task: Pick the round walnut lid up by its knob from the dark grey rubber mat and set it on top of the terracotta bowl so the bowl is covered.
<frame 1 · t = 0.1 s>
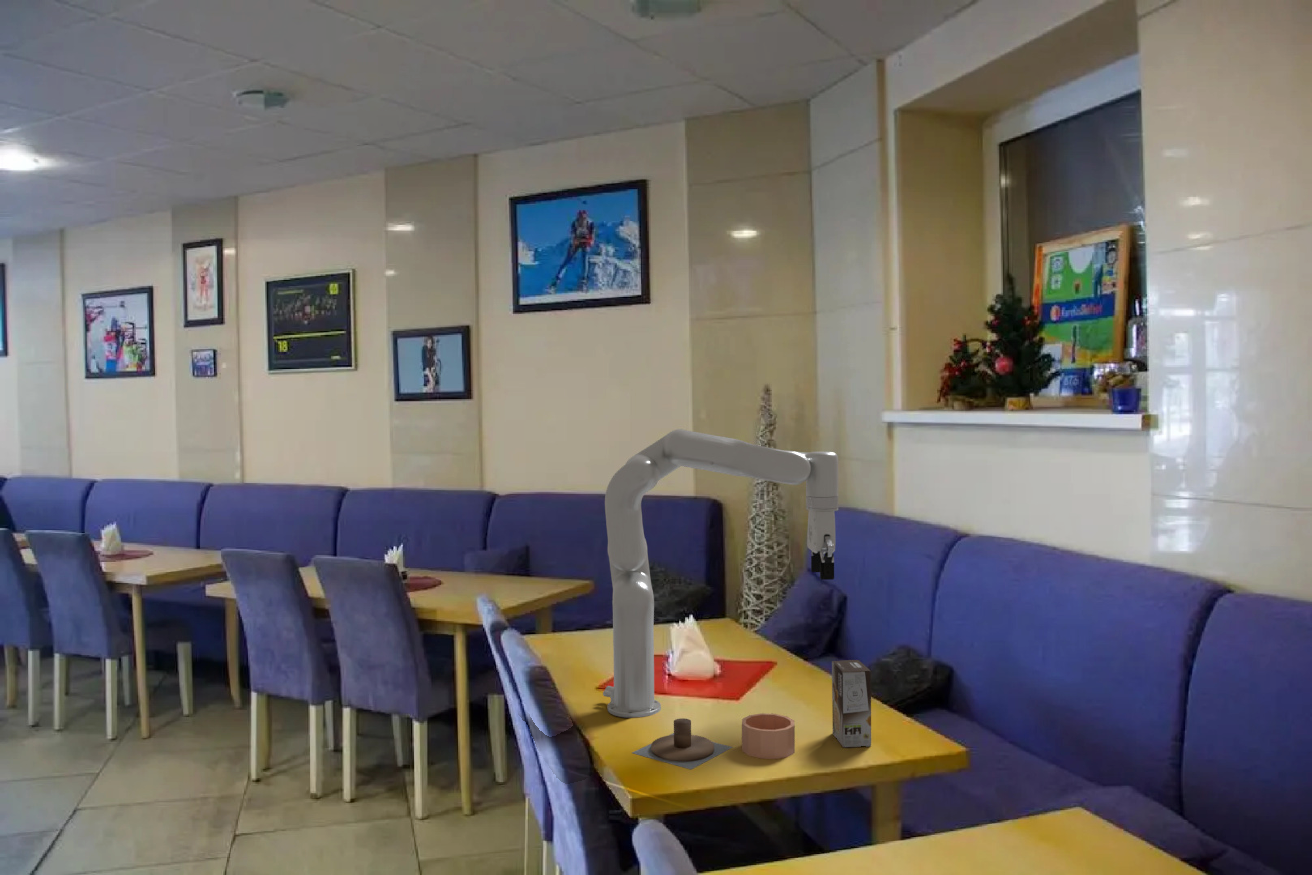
hand: (822, 575, 223), 31 cm above the table, tool pointing down, fingers open, 9 cm apart
mat: (682, 751, 195), on the table
lid: (682, 749, 195), resting on mat
bowl: (768, 750, 196), on the table
coffee box: (851, 740, 202), on the table
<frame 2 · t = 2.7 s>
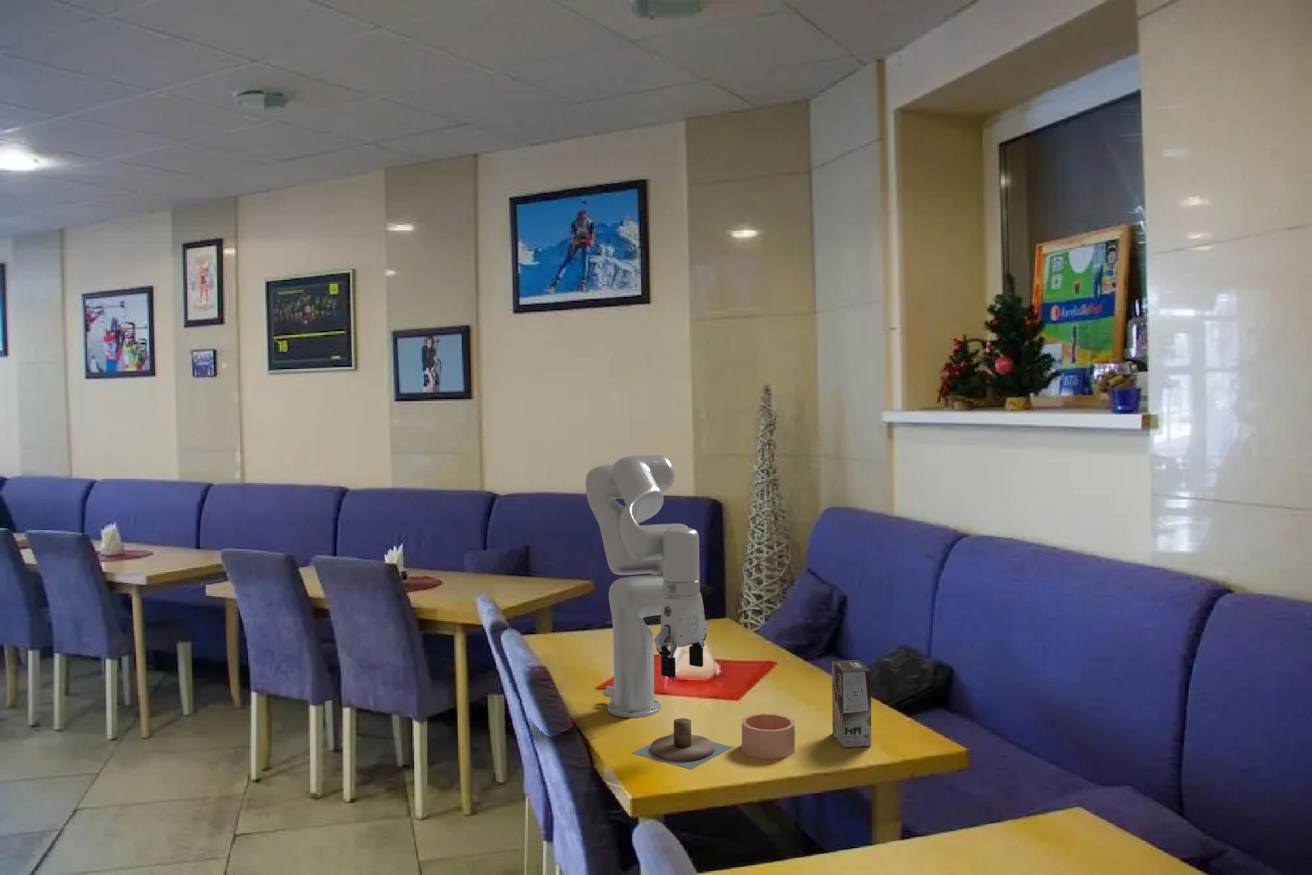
hand: (682, 670, 195), 17 cm above the table, tool pointing down, fingers open, 9 cm apart
nothing on the table moved.
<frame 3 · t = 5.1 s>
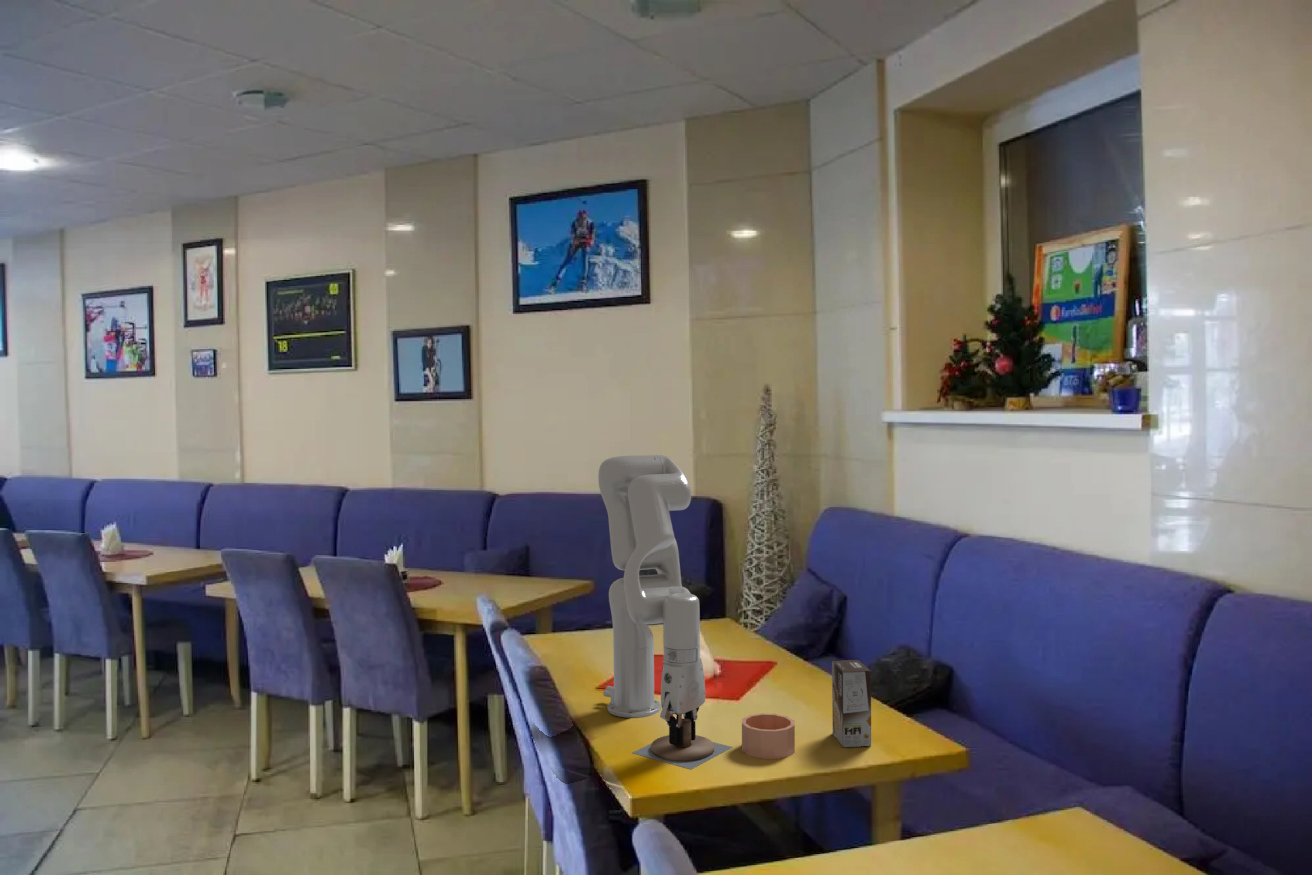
hand: (682, 740, 195), 2 cm above the table, tool pointing down, fingers closed on lid, 3 cm apart
lid: (682, 749, 195), resting on mat, touching gripper
everything else where it was.
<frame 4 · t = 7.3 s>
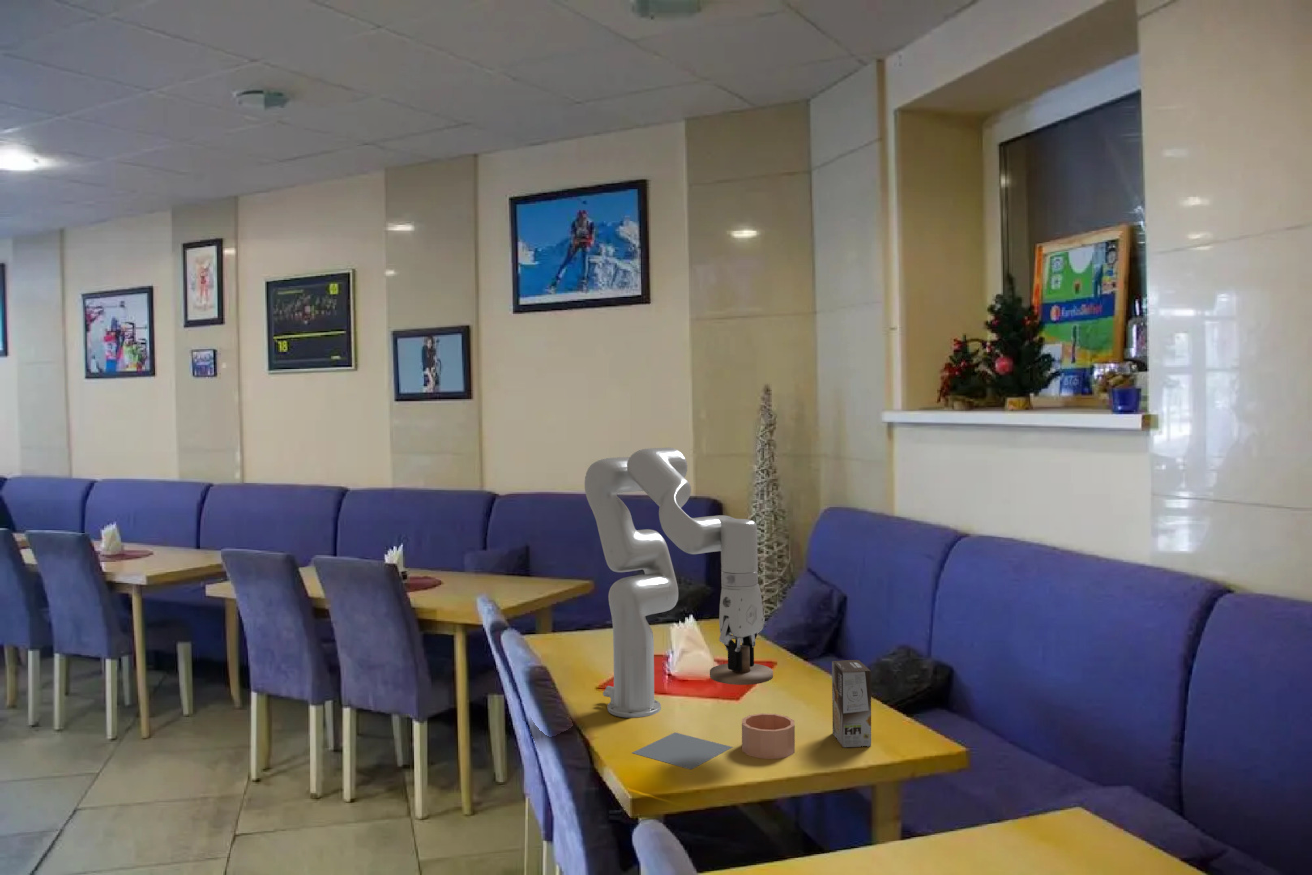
hand: (741, 666, 195), 18 cm above the table, tool pointing down, fingers closed on lid, 3 cm apart
lid: (741, 675, 195), point 16 cm above the table, touching gripper
everything else where it was.
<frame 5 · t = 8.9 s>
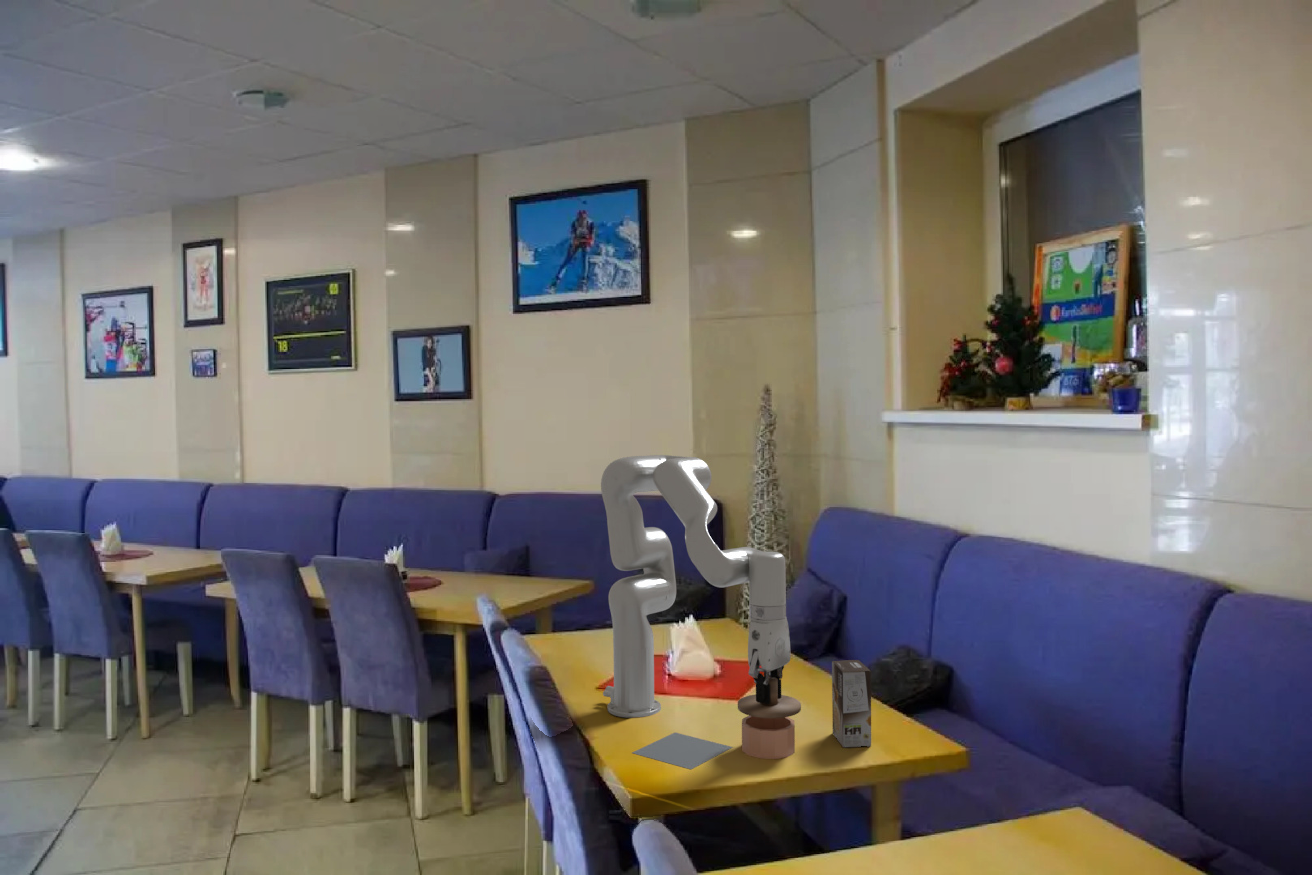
hand: (768, 699, 195), 11 cm above the table, tool pointing down, fingers closed on lid, 3 cm apart
lid: (769, 707, 195), point 9 cm above the table, touching gripper
everything else where it was.
when the fingers open (9 cm above the table, at t = 9.9 s): lid drops 1 cm, resting on bowl.
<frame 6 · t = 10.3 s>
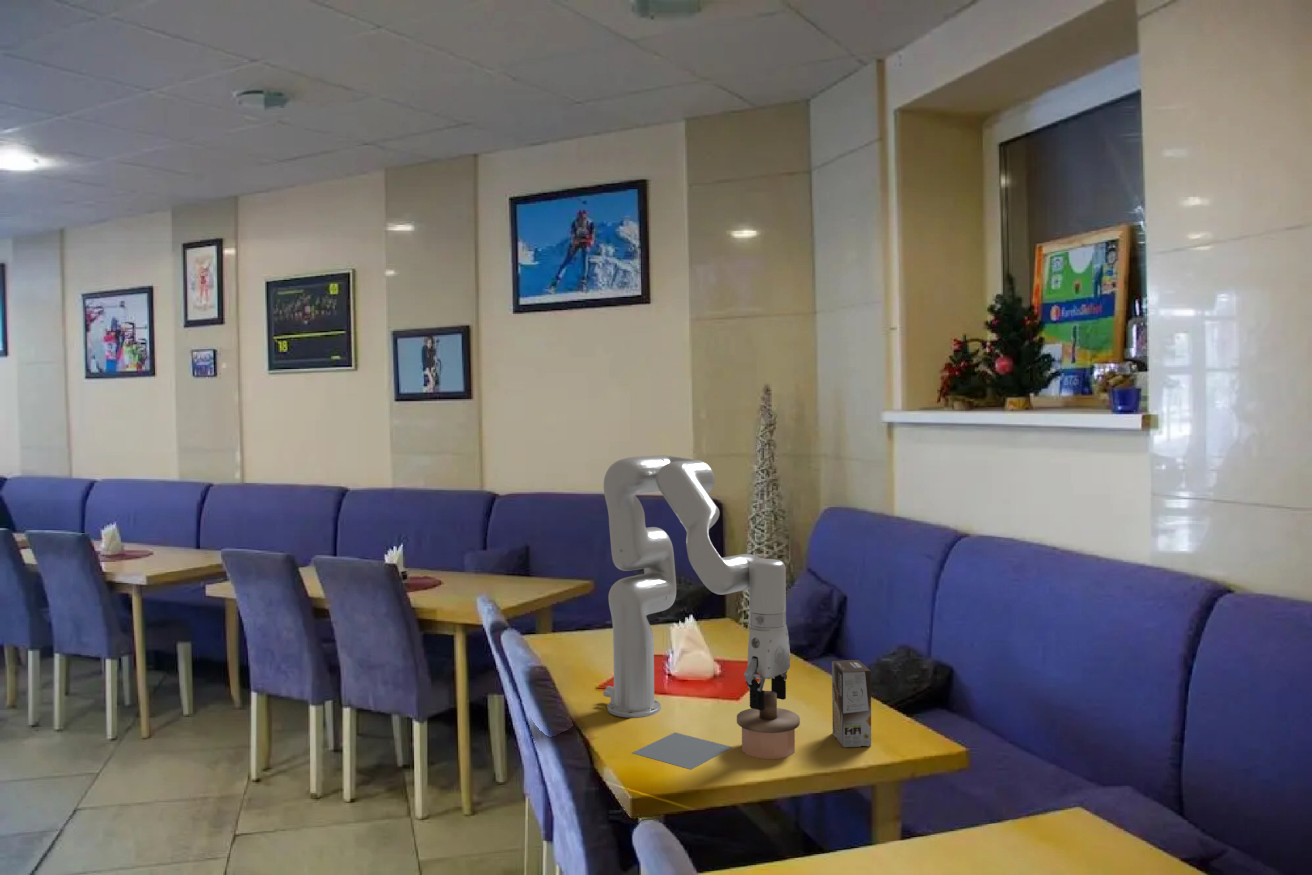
hand: (768, 703, 195), 10 cm above the table, tool pointing down, fingers open, 8 cm apart
lid: (768, 721, 195), point 6 cm above the table, touching bowl
everything else where it was.
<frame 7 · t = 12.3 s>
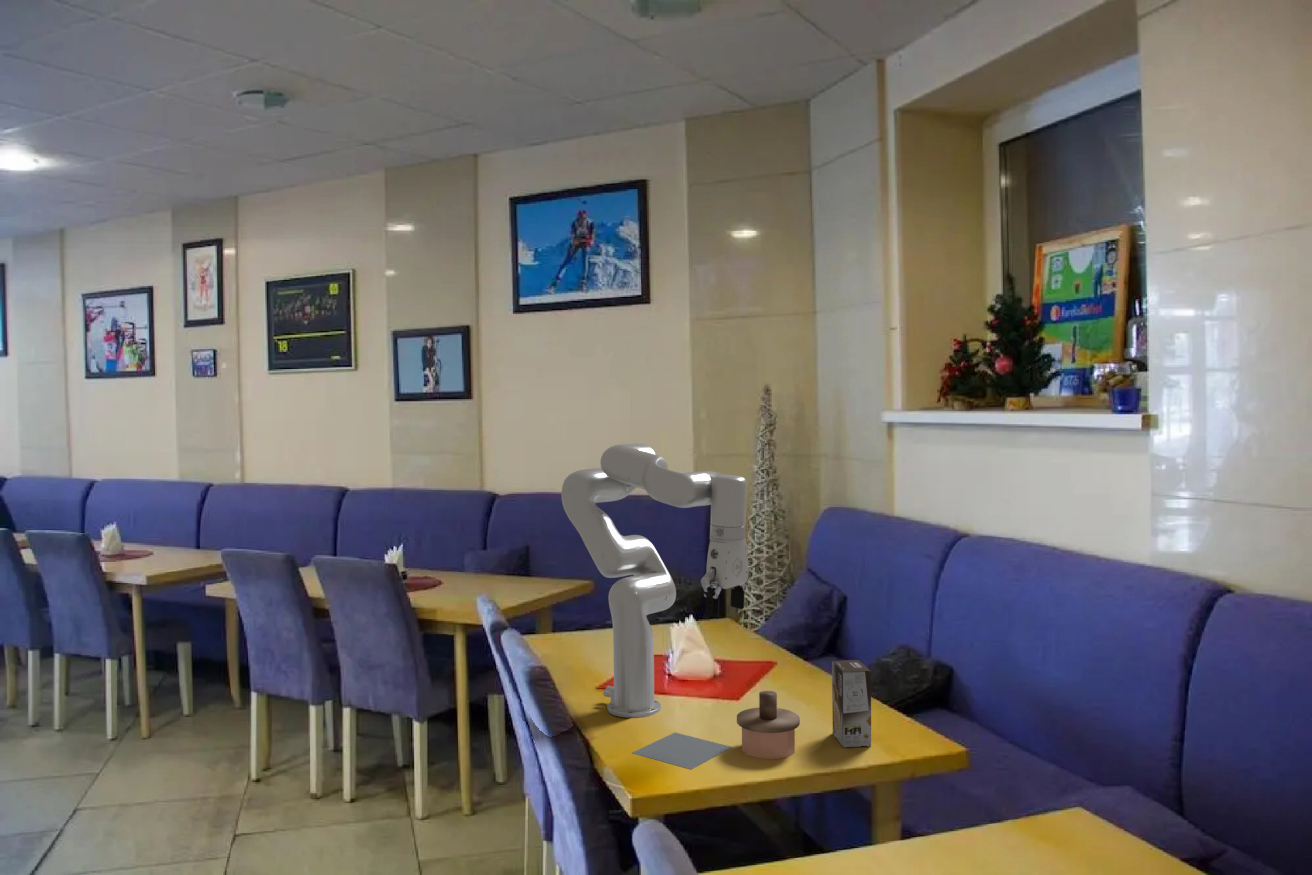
hand: (724, 611, 203), 27 cm above the table, tool pointing down, fingers open, 9 cm apart
nothing on the table moved.
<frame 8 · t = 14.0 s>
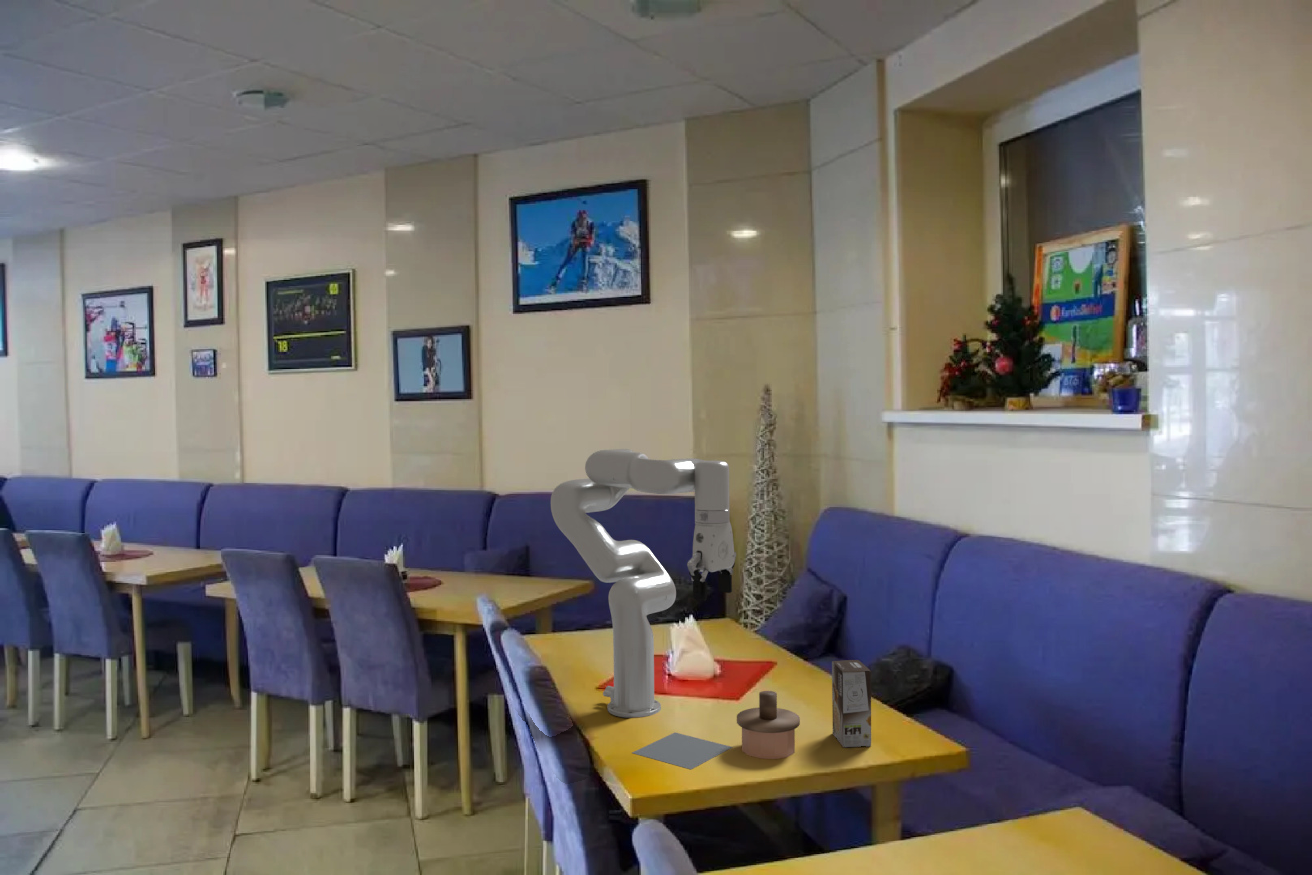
hand: (712, 595, 205), 30 cm above the table, tool pointing down, fingers open, 9 cm apart
nothing on the table moved.
at the end: lid 0.0 cm off-centre on the bowl, point 6.0 cm above the bowl's base; lid tilted 0°; the gripper is holding nothing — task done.
